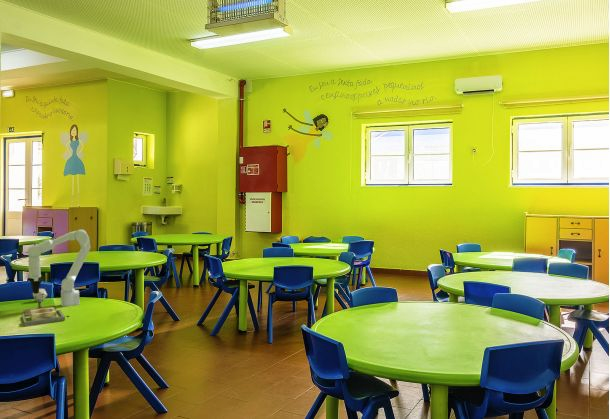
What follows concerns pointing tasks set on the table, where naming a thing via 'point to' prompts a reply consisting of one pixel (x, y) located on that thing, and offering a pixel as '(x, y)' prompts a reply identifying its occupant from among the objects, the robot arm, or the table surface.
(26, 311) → the stake board
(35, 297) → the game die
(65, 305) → the robot arm
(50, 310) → the cream square frame
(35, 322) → the tray
